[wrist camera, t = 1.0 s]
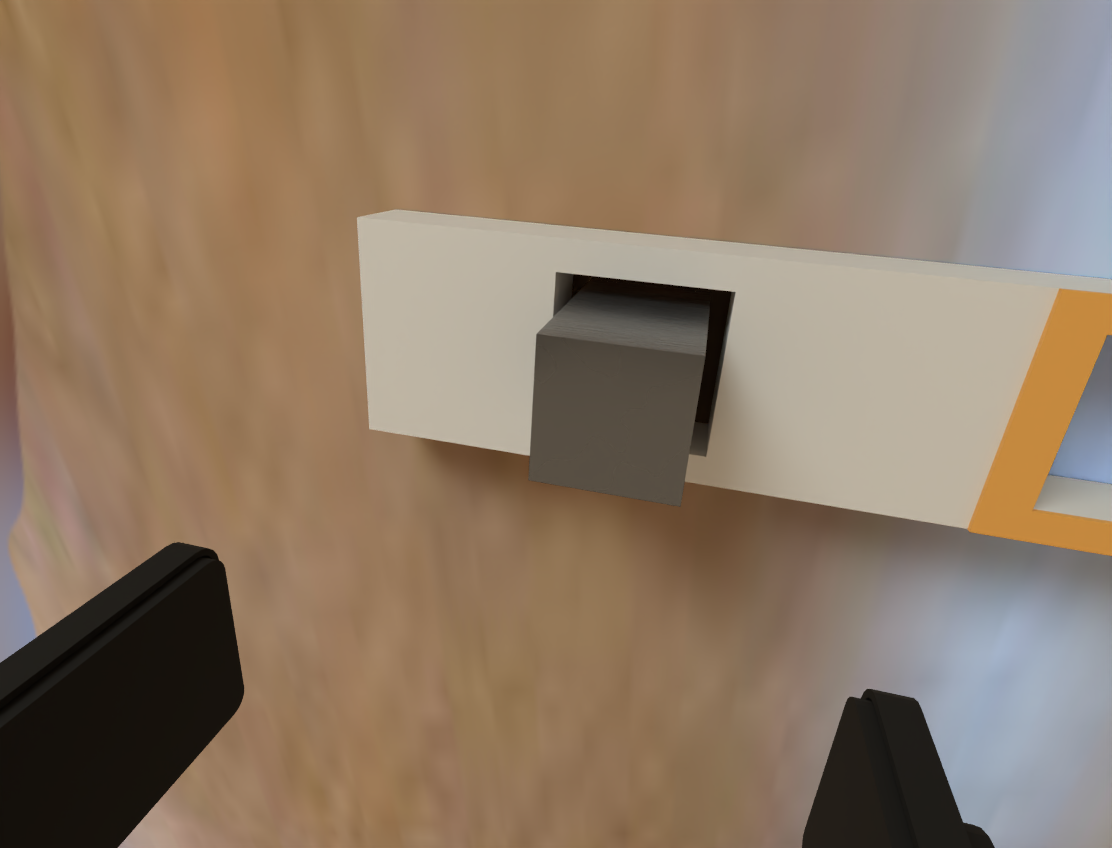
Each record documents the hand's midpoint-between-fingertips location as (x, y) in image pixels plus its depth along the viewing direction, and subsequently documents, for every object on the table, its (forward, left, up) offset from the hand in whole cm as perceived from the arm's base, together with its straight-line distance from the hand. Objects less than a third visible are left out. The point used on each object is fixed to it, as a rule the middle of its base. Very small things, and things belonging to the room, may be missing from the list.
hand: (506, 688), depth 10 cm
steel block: (0, 0, -17) cm, 17 cm away
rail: (0, +8, -17) cm, 19 cm away
